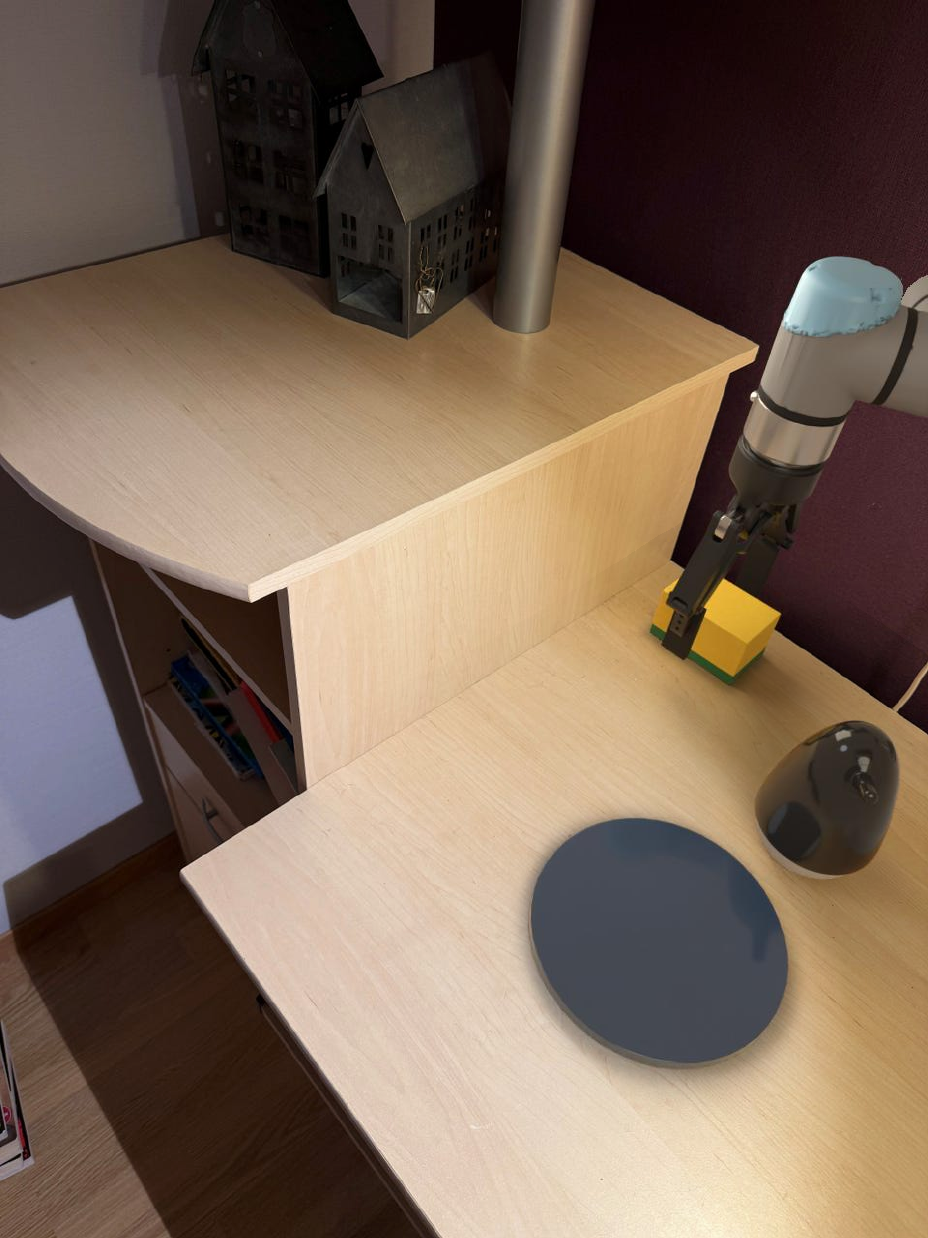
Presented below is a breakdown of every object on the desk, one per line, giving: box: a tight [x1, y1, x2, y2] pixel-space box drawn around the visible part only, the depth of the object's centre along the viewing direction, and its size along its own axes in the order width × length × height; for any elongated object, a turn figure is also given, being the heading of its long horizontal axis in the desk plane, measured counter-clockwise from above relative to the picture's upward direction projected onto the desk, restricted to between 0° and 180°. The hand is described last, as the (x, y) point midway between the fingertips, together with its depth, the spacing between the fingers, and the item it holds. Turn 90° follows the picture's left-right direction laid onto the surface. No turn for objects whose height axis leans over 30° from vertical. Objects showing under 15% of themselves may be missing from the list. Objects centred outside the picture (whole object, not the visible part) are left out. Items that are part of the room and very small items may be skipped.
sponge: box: [649, 578, 782, 686], centre depth 93 cm, size 10×6×6 cm, turn 46°
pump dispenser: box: [754, 719, 901, 880], centre depth 73 cm, size 10×10×15 cm
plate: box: [528, 817, 789, 1070], centre depth 71 cm, size 20×20×1 cm
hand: (711, 620), depth 93 cm, fingers open, 13 cm apart
